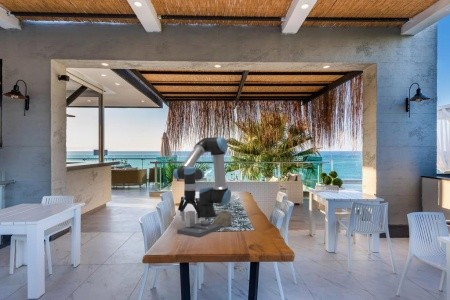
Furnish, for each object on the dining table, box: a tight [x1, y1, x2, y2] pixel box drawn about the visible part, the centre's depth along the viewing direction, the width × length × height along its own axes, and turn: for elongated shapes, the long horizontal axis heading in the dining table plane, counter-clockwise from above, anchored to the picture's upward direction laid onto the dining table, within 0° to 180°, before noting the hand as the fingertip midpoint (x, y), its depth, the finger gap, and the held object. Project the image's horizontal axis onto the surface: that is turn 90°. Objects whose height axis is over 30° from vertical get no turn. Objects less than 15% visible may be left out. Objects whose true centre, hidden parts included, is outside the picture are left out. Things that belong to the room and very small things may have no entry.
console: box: [176, 220, 221, 238], centre depth 221 cm, size 18×24×5 cm
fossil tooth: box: [211, 210, 233, 228], centre depth 235 cm, size 12×6×15 cm
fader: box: [185, 210, 196, 228], centre depth 223 cm, size 4×6×10 cm, turn 148°
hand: (190, 221), depth 223 cm, fingers open, 12 cm apart
